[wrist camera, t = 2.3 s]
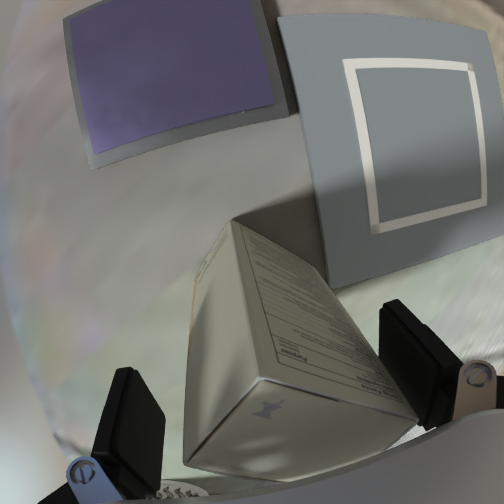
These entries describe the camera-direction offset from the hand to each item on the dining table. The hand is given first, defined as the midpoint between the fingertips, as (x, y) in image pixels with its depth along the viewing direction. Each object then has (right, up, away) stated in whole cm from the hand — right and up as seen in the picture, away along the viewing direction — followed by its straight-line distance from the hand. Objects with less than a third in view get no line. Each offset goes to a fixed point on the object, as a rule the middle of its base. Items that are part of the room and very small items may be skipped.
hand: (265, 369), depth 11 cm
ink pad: (-5, +14, +3) cm, 15 cm away
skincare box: (0, +3, +8) cm, 8 cm away
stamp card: (+10, +11, +5) cm, 16 cm away
